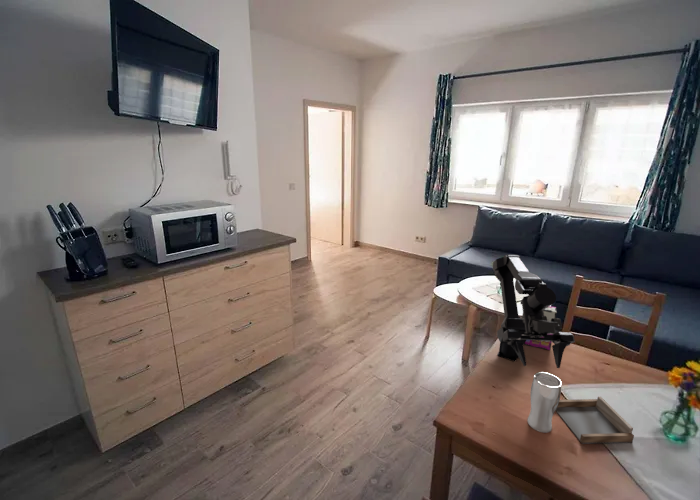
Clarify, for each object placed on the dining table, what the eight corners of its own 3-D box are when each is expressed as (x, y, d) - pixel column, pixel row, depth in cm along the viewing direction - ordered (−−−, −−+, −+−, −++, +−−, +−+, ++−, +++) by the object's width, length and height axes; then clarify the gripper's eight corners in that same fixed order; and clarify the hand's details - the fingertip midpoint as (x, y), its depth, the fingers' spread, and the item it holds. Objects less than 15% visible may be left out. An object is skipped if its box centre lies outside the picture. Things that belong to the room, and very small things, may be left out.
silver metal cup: (546, 415, 98) (555, 372, 94) (558, 435, 92) (568, 389, 87) (521, 414, 99) (528, 370, 95) (531, 433, 92) (539, 387, 88)
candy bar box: (550, 344, 134) (556, 306, 129) (550, 350, 129) (557, 312, 125) (518, 337, 139) (524, 301, 134) (518, 343, 134) (523, 306, 130)
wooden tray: (581, 443, 89) (584, 431, 88) (552, 406, 102) (554, 395, 100) (632, 442, 89) (635, 430, 88) (596, 405, 102) (598, 394, 101)
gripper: (510, 305, 99) (517, 360, 93) (578, 309, 97) (590, 365, 90) (499, 315, 109) (505, 366, 103) (561, 318, 107) (570, 370, 100)
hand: (541, 366), depth 99 cm, fingers open, 9 cm apart
